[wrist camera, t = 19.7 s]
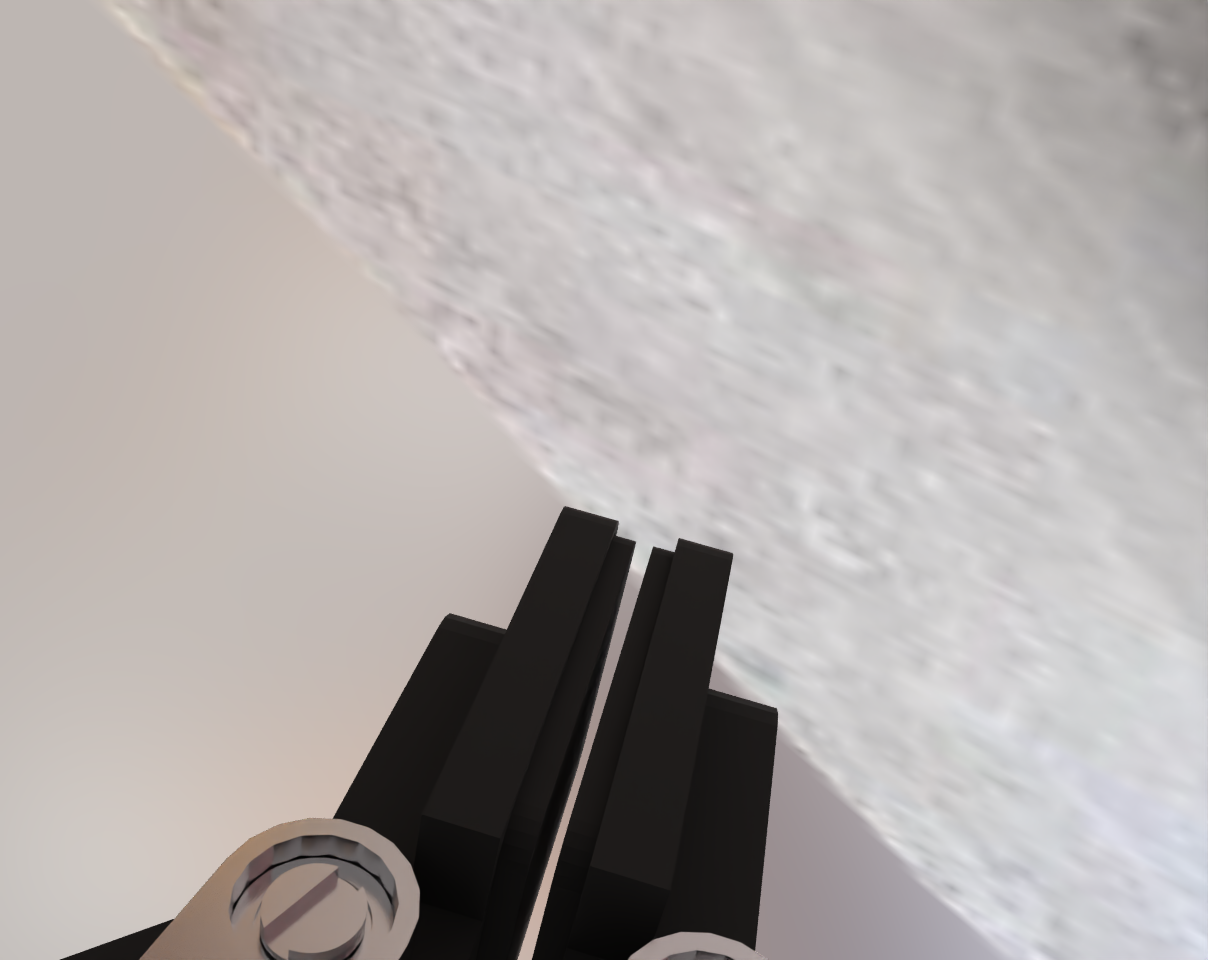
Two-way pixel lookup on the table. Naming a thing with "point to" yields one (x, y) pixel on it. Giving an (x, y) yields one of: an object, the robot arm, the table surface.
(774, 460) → the table surface
